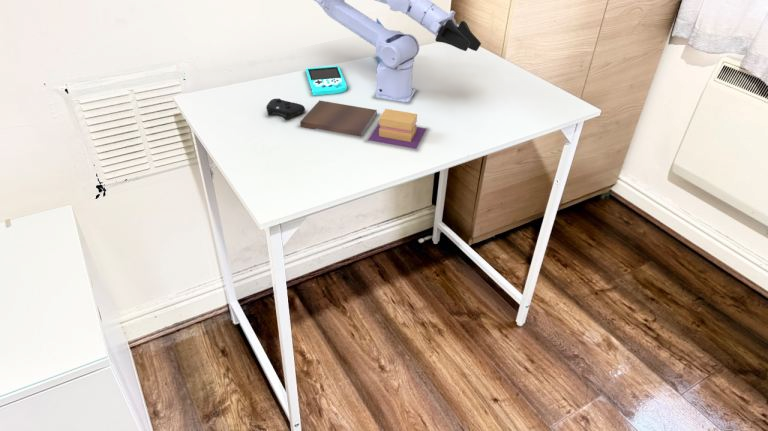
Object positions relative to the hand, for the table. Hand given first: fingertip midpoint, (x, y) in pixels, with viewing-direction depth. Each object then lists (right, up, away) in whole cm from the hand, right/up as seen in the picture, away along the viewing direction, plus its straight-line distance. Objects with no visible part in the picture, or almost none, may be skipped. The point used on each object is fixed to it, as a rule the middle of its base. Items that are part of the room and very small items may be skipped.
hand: (473, 47), depth 123 cm
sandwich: (-18, -20, +4) cm, 27 cm away
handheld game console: (-38, -1, +27) cm, 47 cm away
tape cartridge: (-21, +8, +39) cm, 44 cm away
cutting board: (-32, -16, +10) cm, 37 cm away
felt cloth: (-18, -20, +4) cm, 27 cm away
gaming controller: (-47, -13, +12) cm, 50 cm away
